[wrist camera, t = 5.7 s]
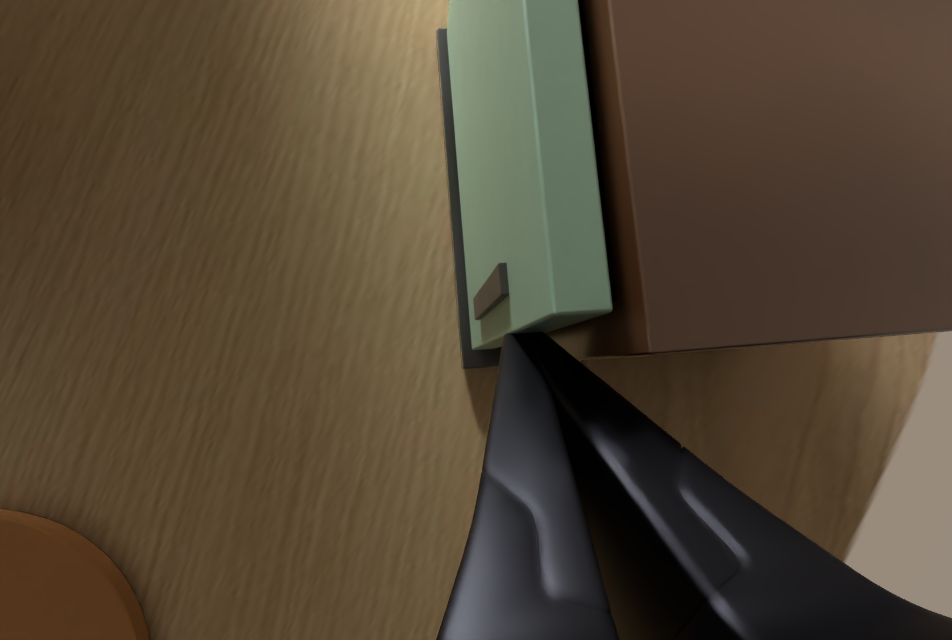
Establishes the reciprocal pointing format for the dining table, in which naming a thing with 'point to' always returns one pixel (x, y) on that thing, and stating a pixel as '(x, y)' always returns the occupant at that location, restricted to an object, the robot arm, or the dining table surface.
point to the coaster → (61, 585)
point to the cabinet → (758, 173)
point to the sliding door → (525, 168)
